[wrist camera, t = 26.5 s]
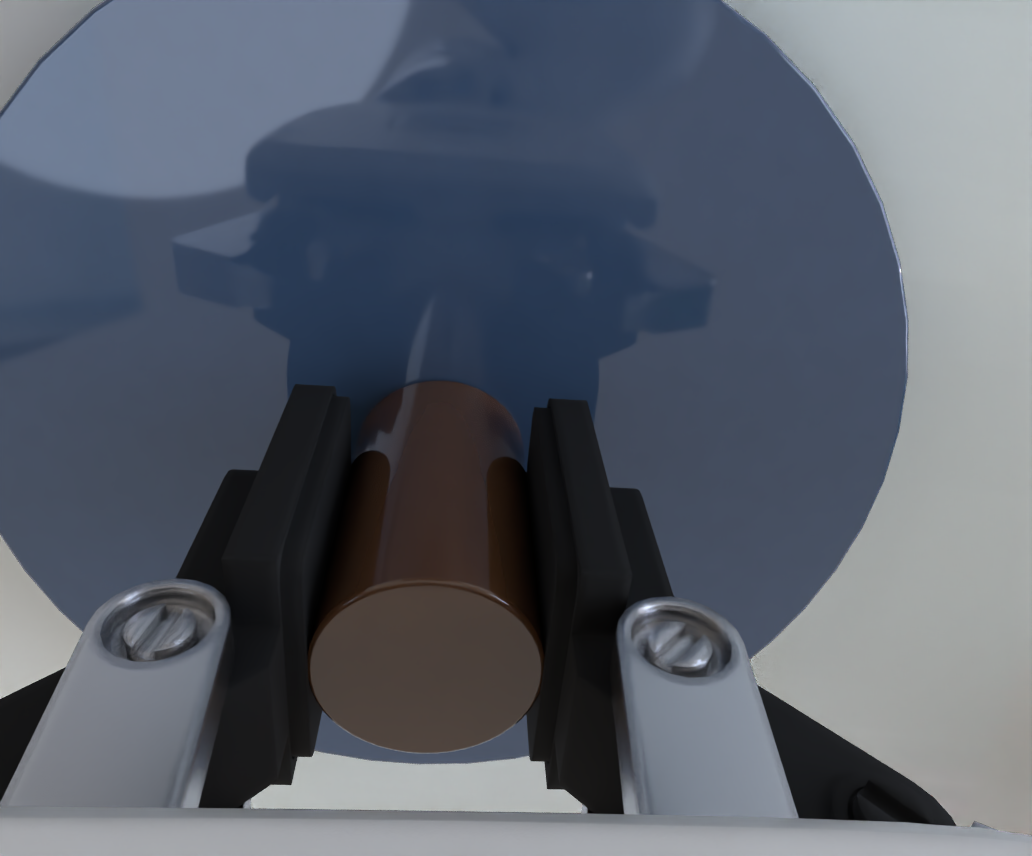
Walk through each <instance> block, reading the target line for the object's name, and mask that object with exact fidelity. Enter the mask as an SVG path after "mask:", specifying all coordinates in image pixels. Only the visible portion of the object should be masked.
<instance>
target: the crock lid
mask: <svg viewBox="0 0 1032 856" xmlns="http://www.w3.org/2000/svg"><path fill="white" fill-rule="evenodd" d="M907 378H908V315H907V307H906V300H905V293H904V286H903V279H902V271H901V264H900V259H899V256H898V252H897V249H896V246H895V242H894V239H893V236H892V232H891V229H890V226H889V222H888V219H887V216H886V212H885V209H884V206H883V202H882V200H881V198H880V196H879V194H878V192H877V190H876V187H875V185H874V183H873V181H872V179H871V177H870V175H869V173H868V171H867V169H866V166H865V164H864V162H863V160H862V158H861V156H860V154H859V152H858V150H857V148H856V146H855V143H854V142H853V140H852V139H851V138H850V136H849V135H848V133H847V132H846V130H845V129H844V127H843V126H842V124H841V123H840V121H839V120H838V119H837V117H836V116H835V114H834V113H833V111H832V110H831V108H830V107H829V105H828V104H827V103H826V101H825V100H824V98H823V97H822V95H821V94H820V92H819V91H818V89H817V88H816V87H815V85H814V84H813V83H812V82H811V81H810V80H809V79H808V78H807V77H806V76H805V75H804V74H803V73H802V72H801V71H800V70H799V69H798V67H797V66H796V65H795V64H794V63H793V62H792V61H791V60H790V59H789V58H788V57H787V56H786V55H785V54H784V53H783V52H782V51H781V49H780V48H779V47H778V46H777V45H776V44H775V43H774V42H773V41H772V40H771V39H770V38H769V37H768V36H767V35H766V34H765V33H764V32H763V31H761V30H760V29H759V28H757V27H756V26H755V25H754V24H752V23H751V22H750V21H748V20H747V19H746V18H745V17H743V16H742V15H741V14H739V13H738V12H737V11H736V10H734V9H733V8H732V7H730V6H729V5H728V4H727V3H725V2H724V1H723V0H104V1H102V2H101V3H99V4H98V5H96V6H95V7H93V8H92V9H91V10H90V11H89V12H88V13H87V14H86V15H85V16H84V17H83V18H82V19H81V20H80V21H79V22H77V23H76V24H75V25H74V26H73V27H72V28H71V29H70V30H69V31H68V32H67V33H66V34H65V35H64V36H63V37H62V38H61V39H60V40H59V41H57V42H56V43H55V44H54V45H53V46H52V47H51V48H50V49H49V50H48V51H47V52H46V53H45V54H44V55H43V56H42V57H41V58H40V59H39V60H38V61H37V62H36V64H35V65H34V66H33V68H32V69H31V70H30V72H29V73H28V74H27V76H26V77H25V78H24V80H23V81H22V82H21V84H20V85H19V86H18V88H17V89H16V90H15V92H14V93H13V94H12V96H11V97H10V99H9V100H8V101H7V103H6V104H5V105H4V107H3V108H2V109H1V111H0V535H1V537H2V538H3V540H4V541H5V543H6V544H7V545H8V547H9V548H10V550H11V551H12V553H13V554H14V556H15V557H16V559H17V560H18V562H19V563H20V565H21V566H22V568H23V569H24V571H25V572H26V573H27V574H28V575H29V576H30V577H31V579H32V580H33V581H34V582H35V583H36V584H37V585H38V587H39V588H40V589H41V590H42V591H43V592H44V594H45V595H46V596H47V597H48V598H49V599H50V600H51V602H52V603H53V604H54V605H55V606H56V607H57V609H58V610H59V611H60V612H61V613H62V614H64V615H65V616H66V617H67V618H68V619H69V620H70V621H71V622H72V623H73V624H74V625H76V626H77V627H78V628H79V629H80V630H81V631H82V632H83V631H84V629H85V627H86V625H87V623H88V622H89V620H90V619H91V617H92V616H93V615H94V613H95V612H96V610H97V609H98V608H99V607H101V606H102V605H103V604H104V603H106V602H107V601H108V600H109V599H111V598H112V597H113V596H115V595H117V594H119V593H121V592H123V591H125V590H127V589H129V588H131V587H133V586H137V585H140V584H144V583H147V582H151V581H154V580H164V579H174V578H176V576H177V574H178V572H179V570H180V568H181V566H182V564H183V562H184V560H185V558H186V556H187V553H188V551H189V549H190V547H191V545H192V543H193V541H194V539H195V537H196V535H197V533H198V531H199V529H200V526H201V524H202V522H203V520H204V518H205V516H206V514H207V512H208V510H209V508H210V506H211V504H212V502H213V500H214V497H215V495H216V493H217V491H218V489H219V487H220V485H221V483H222V481H223V479H224V477H225V475H226V474H227V472H228V471H229V470H232V469H238V470H259V468H260V466H261V463H262V461H263V459H264V456H265V454H266V451H267V449H268V447H269V444H270V442H271V440H272V437H273V435H274V432H275V430H276V428H277V425H278V423H279V421H280V418H281V416H282V413H283V411H284V409H285V406H286V404H287V402H288V399H289V397H290V394H291V392H292V390H293V387H294V386H295V384H304V385H322V386H335V388H336V393H337V396H343V397H349V398H350V410H351V469H350V473H349V477H348V481H347V485H346V489H345V494H344V498H343V502H342V506H341V510H340V514H339V519H338V523H337V527H336V531H335V535H334V539H333V544H332V548H331V552H330V556H329V560H328V564H327V569H326V573H325V577H324V581H323V585H322V589H321V594H320V598H319V602H318V606H317V610H316V614H315V618H314V623H313V627H312V631H311V635H310V639H309V643H308V652H307V661H308V681H309V686H310V689H311V692H312V694H313V696H314V698H315V700H316V702H317V703H318V705H319V706H320V707H321V709H322V715H321V720H320V725H319V730H318V735H317V740H316V745H315V749H314V751H318V752H322V753H328V754H334V755H340V756H346V757H352V758H358V759H364V760H371V761H383V762H396V763H410V764H468V763H477V762H487V761H497V760H507V759H516V758H521V757H526V756H529V745H528V731H527V717H526V714H527V713H528V711H529V710H530V709H531V708H532V706H533V705H534V703H535V702H536V700H537V698H538V696H539V694H540V689H541V682H542V675H543V668H544V660H545V646H544V636H543V627H542V617H541V608H540V598H539V589H538V579H537V570H536V560H535V551H534V541H533V532H532V522H531V513H530V503H529V494H528V484H527V475H526V471H527V462H528V453H529V444H530V435H531V426H532V417H533V411H534V407H541V408H547V404H548V400H549V398H553V399H570V400H587V402H588V406H589V410H590V413H591V417H592V421H593V425H594V429H595V433H596V437H597V440H598V444H599V448H600V452H601V456H602V460H603V464H604V467H605V471H606V475H607V479H608V483H609V487H615V488H635V489H638V490H640V493H641V495H642V497H643V500H644V503H645V507H646V510H647V513H648V516H649V519H650V522H651V526H652V529H653V532H654V535H655V538H656V541H657V545H658V548H659V551H660V554H661V557H662V560H663V564H664V567H665V570H666V573H667V576H668V579H669V582H670V586H671V589H672V592H673V595H674V597H676V598H682V599H687V600H692V601H694V602H697V603H699V604H702V605H704V606H707V607H709V608H711V609H712V610H714V611H715V612H717V613H718V614H720V615H722V616H723V617H725V618H726V619H727V620H728V621H729V622H730V623H731V624H732V626H733V627H734V628H735V629H736V630H737V631H738V633H739V635H740V637H741V639H742V641H743V642H744V644H745V647H746V651H747V654H748V657H749V659H751V658H752V657H753V656H754V655H756V654H757V653H758V652H759V651H761V650H762V649H763V648H764V647H766V646H767V645H768V644H769V643H771V642H772V641H773V640H774V639H775V638H776V637H777V636H778V635H779V634H780V633H781V632H782V631H783V630H784V629H785V628H786V627H787V626H788V625H789V624H790V623H791V622H792V621H793V620H794V619H795V618H796V617H797V616H798V615H799V614H800V613H801V612H802V611H803V610H804V609H805V608H806V607H807V606H808V604H809V603H810V602H811V601H812V599H813V598H814V597H815V596H816V594H817V593H818V592H819V591H820V589H821V588H822V587H823V586H824V584H825V583H826V582H827V581H828V579H829V578H830V577H831V576H832V574H833V573H834V572H835V571H836V569H837V568H838V566H839V564H840V563H841V561H842V560H843V558H844V556H845V555H846V553H847V552H848V550H849V548H850V547H851V545H852V544H853V542H854V540H855V539H856V537H857V536H858V534H859V532H860V531H861V529H862V527H863V525H864V523H865V521H866V519H867V517H868V514H869V512H870V510H871V508H872V506H873V504H874V501H875V499H876V497H877V495H878V493H879V490H880V488H881V486H882V484H883V482H884V479H885V475H886V472H887V469H888V466H889V462H890V459H891V456H892V453H893V449H894V446H895V443H896V439H897V436H898V433H899V428H900V422H901V416H902V410H903V403H904V397H905V391H906V384H907Z"/></svg>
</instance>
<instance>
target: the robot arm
mask: <svg viewBox="0 0 1032 856" xmlns="http://www.w3.org/2000/svg"><path fill="white" fill-rule="evenodd" d="M350 469H351V410H350V398H349V397H343V396H337V393H336V388H335V386H322V385H304V384H295V386H294V387H293V390H292V392H291V394H290V397H289V399H288V402H287V404H286V406H285V409H284V411H283V413H282V416H281V418H280V421H279V423H278V425H277V428H276V430H275V432H274V435H273V437H272V440H271V442H270V444H269V447H268V449H267V451H266V454H265V456H264V459H263V461H262V463H261V466H260V468H259V470H238V469H232V470H229V471H228V472H227V474H226V475H225V477H224V479H223V481H222V483H221V485H220V487H219V489H218V491H217V493H216V495H215V497H214V500H213V502H212V504H211V506H210V508H209V510H208V512H207V514H206V516H205V518H204V520H203V522H202V524H201V526H200V529H199V531H198V533H197V535H196V537H195V539H194V541H193V543H192V545H191V547H190V549H189V551H188V553H187V556H186V558H185V560H184V562H183V564H182V566H181V568H180V570H179V572H178V574H177V576H176V578H174V579H164V580H154V581H151V582H147V583H144V584H140V585H137V586H133V587H131V588H129V589H127V590H125V591H123V592H121V593H119V594H117V595H115V596H113V597H112V598H111V599H109V600H108V601H107V602H106V603H104V604H103V605H102V606H101V607H99V608H98V609H97V610H96V612H95V613H94V615H93V616H92V617H91V619H90V620H89V622H88V623H87V625H86V627H85V629H84V631H83V633H82V635H81V637H80V639H79V641H78V643H77V645H76V647H75V649H74V652H73V654H72V656H71V658H70V660H69V662H68V664H67V666H66V667H65V668H63V669H61V670H59V671H57V672H55V673H53V674H51V675H49V676H47V677H45V678H43V679H41V680H39V681H37V682H35V683H32V684H30V685H28V686H26V687H24V688H22V689H20V690H18V691H16V692H14V693H12V694H10V695H8V696H6V697H4V698H2V699H0V856H1032V835H1026V834H1020V833H1013V832H1006V831H999V830H996V829H994V828H991V827H989V826H986V825H983V824H981V823H978V822H975V821H974V822H973V824H972V826H971V827H962V826H956V825H955V823H954V821H953V819H952V817H951V816H950V815H949V814H948V813H947V812H946V810H945V809H944V808H943V807H942V806H941V805H940V804H939V803H938V802H937V800H936V799H935V798H934V797H932V796H931V795H930V794H928V793H927V792H926V791H925V790H923V789H922V788H921V787H919V786H918V785H917V784H915V783H914V782H912V781H911V780H909V779H908V778H906V777H904V776H903V775H901V774H900V773H898V772H896V771H895V770H893V769H892V768H890V767H888V766H887V765H885V764H884V763H882V762H880V761H879V760H877V759H876V758H874V757H872V756H871V755H869V754H867V753H866V752H864V751H863V750H861V749H859V748H858V747H856V746H855V745H853V744H851V743H850V742H848V741H847V740H845V739H843V738H842V737H840V736H839V735H837V734H835V733H834V732H832V731H831V730H829V729H827V728H826V727H824V726H822V725H821V724H819V723H818V722H816V721H814V720H813V719H811V718H810V717H808V716H806V715H805V714H803V713H802V712H800V711H798V710H797V709H795V708H794V707H792V706H790V705H789V704H787V703H786V702H784V701H782V700H781V699H779V698H777V697H776V696H774V695H773V694H771V693H769V692H768V691H766V690H765V689H763V688H761V687H760V686H758V685H757V683H756V679H755V676H754V673H753V670H752V667H751V663H750V660H749V657H748V654H747V651H746V647H745V644H744V642H743V641H742V639H741V637H740V635H739V633H738V631H737V630H736V629H735V628H734V627H733V626H732V624H731V623H730V622H729V621H728V620H727V619H726V618H725V617H723V616H722V615H720V614H718V613H717V612H715V611H714V610H712V609H711V608H709V607H707V606H704V605H702V604H699V603H697V602H694V601H692V600H687V599H682V598H676V597H674V595H673V592H672V589H671V586H670V582H669V579H668V576H667V573H666V570H665V567H664V564H663V560H662V557H661V554H660V551H659V548H658V545H657V541H656V538H655V535H654V532H653V529H652V526H651V522H650V519H649V516H648V513H647V510H646V507H645V503H644V500H643V497H642V495H641V493H640V490H638V489H635V488H615V487H609V483H608V479H607V475H606V471H605V467H604V464H603V460H602V456H601V452H600V448H599V444H598V440H597V437H596V433H595V429H594V425H593V421H592V417H591V413H590V410H589V406H588V402H587V400H570V399H553V398H549V400H548V404H547V408H541V407H534V411H533V417H532V426H531V435H530V444H529V453H528V462H527V471H526V475H527V484H528V494H529V503H530V513H531V522H532V532H533V541H534V551H535V560H536V570H537V579H538V589H539V598H540V608H541V617H542V627H543V636H544V646H545V660H544V668H543V675H542V682H541V689H540V694H539V696H538V698H537V700H536V702H535V703H534V705H533V706H532V708H531V709H530V710H529V711H528V713H527V714H526V717H527V731H528V745H529V757H530V760H531V761H545V771H546V782H547V789H565V790H566V791H567V792H569V793H570V794H571V795H572V796H573V797H575V798H576V799H577V800H578V801H580V802H581V803H582V812H581V813H528V812H464V811H398V810H325V809H251V798H252V797H254V796H255V795H256V794H258V793H259V792H261V791H262V790H264V789H265V788H267V787H268V786H269V785H291V784H292V779H293V775H294V770H295V766H296V761H297V757H312V756H313V753H314V749H315V745H316V740H317V735H318V730H319V725H320V720H321V715H322V709H321V707H320V706H319V705H318V703H317V702H316V700H315V698H314V696H313V694H312V692H311V689H310V686H309V681H308V661H307V652H308V643H309V639H310V635H311V631H312V627H313V623H314V618H315V614H316V610H317V606H318V602H319V598H320V594H321V589H322V585H323V581H324V577H325V573H326V569H327V564H328V560H329V556H330V552H331V548H332V544H333V539H334V535H335V531H336V527H337V523H338V519H339V514H340V510H341V506H342V502H343V498H344V494H345V489H346V485H347V481H348V477H349V473H350Z"/></svg>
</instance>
